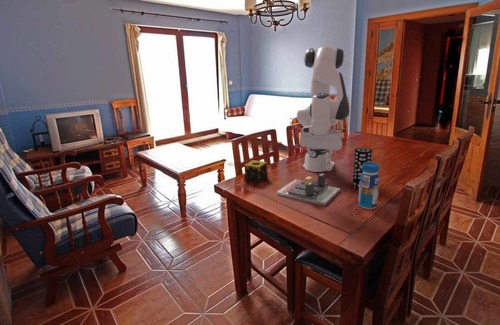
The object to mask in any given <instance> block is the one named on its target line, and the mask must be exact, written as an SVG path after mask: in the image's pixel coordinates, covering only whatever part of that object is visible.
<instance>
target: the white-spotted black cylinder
mask: <svg viewBox="0 0 500 325" xmlns="http://www.w3.org/2000/svg"><path fill="white" fill-rule="evenodd" d="M372 156H373V149H371V148H368V147H358V148H357V147H356V148H355V149H354V157H353V158H354V159H353V174H352V175H353V176H352V187H353V188H355V189H358V190H359V182H360V176H361V174H362V173H363V170H362V167H363V163H365V162H372V158H373V157H372Z"/></svg>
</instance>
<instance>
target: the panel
mask: <svg viewBox="0 0 500 325" xmlns="http://www.w3.org/2000/svg"><path fill="white" fill-rule="evenodd" d="M312 183H314V193H313V194H311V195H307V194H306V188H305V179H303V180H299V179H293V181H292V180H291V181H290V182H289V183H288V184H285V186H282V188H281V189H279V190H277V191H276V195H278V196H281V197H286V198H290V199H292V200H297V201H301V202H307V203H310V204H315V205H318V206H323V207H325V206H326V205H328V204H329V202H331V200H333V198H334V197H336V196H337V195H338V193H340V192H341V188H340V187H334V186H330V185H329V183H327V182H325V184H323V185H318V180H317V181H316V180H312Z"/></svg>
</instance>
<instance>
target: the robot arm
mask: <svg viewBox="0 0 500 325" xmlns="http://www.w3.org/2000/svg"><path fill="white" fill-rule="evenodd" d="M344 62H345V53H344V50H343V49H342V48H340V47H339V48H338V47H336V48H334V47H330V46H327V45H325V46H324V45H323V46H321V47H315V48H313V47H311V48H308V49H307V50H305V53H304V55H303V63H304V66H305V67H306V68H310V69H313V72H312V75H311V83H310V93H309V95H310V97H311V99H312V102H311V103H309V106H302V107H300V108H299V109H298V110H297V112H296V119H297V121H298V123H299V124H301V126H303V127H302V128H301V129H300V131H301V133H300V136H299V145H300V147H303V148H305V147H306V153H305V155H304V164H302V168H304V169H305V170H307V171H309V172H313V173H317V172H318V173H322V172H330V171H332V169H333V167H334V166H335V162H333V161H332V155H333V154H334V152H335V151H336V152H338V151H340V150H342V148H343V141H342V139H343V133H342V132H341V131H340V130H338V129H336V130H335V129H331V126H333V125H337V123H338V122H339V121H343V120H346V119H347V118H348V117H349V116H350V112H351V106H350V105H351V104H350V103H349V98H348V97H347V96H348V95H347V91H346V86H345V81H344V77H343V74H342V72H340V71H338V69H339V68H340V67H342V65H343V64H344ZM331 87H333V88H334V89H335V90H336V94H337V98H335V99H333V98H332V99H331V95H330V92H331ZM328 151H329V152H328Z"/></svg>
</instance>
